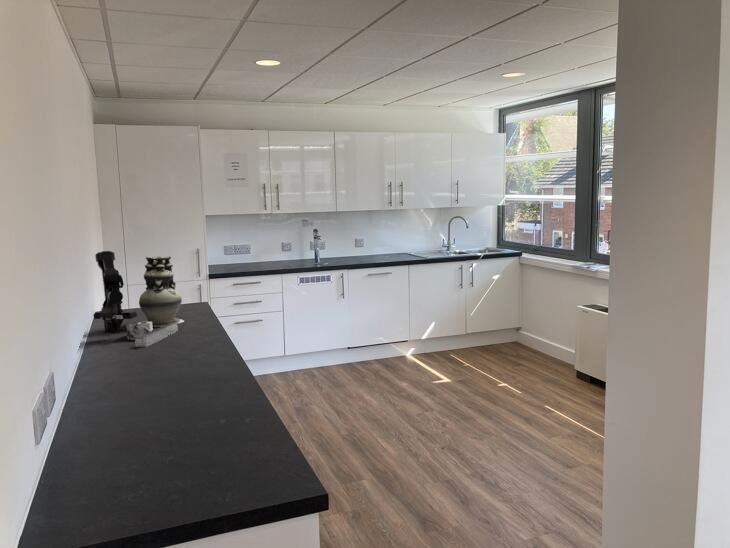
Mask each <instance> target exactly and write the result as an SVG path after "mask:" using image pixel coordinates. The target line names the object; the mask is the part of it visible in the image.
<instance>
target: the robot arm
mask: <svg viewBox="0 0 730 548" xmlns="http://www.w3.org/2000/svg"><path fill="white" fill-rule="evenodd" d="M94 256H95V262H96V263H97V266H98V267H99V269H100V270H101V275H102V283H103V284H102V285H103V292H104V301H103V303H102V304H101V305H102V307H101V308H100V309H101V310H99V311H96V312H94V313H93V319H94V320H100V319H101V320H102V321H103V323H104V326H103V327H104V329H103V330H102V333H115V334H119V332H120V330H122V324H123V321H124V320H130V319H134V318H136V317H138V315H137V314H138V312H137V311H136V310H126V311H124V309H122V304H123V298H124V295H123V293H122V292H121V290H120V289H123V287H124V280H123V276H122V275H121V274H120V272H119V270H118V269H116V268H115V264H114V261H115V260H116V256H115V252H114V251H110V250H103V251H97V253H95V255H94Z"/></svg>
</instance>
